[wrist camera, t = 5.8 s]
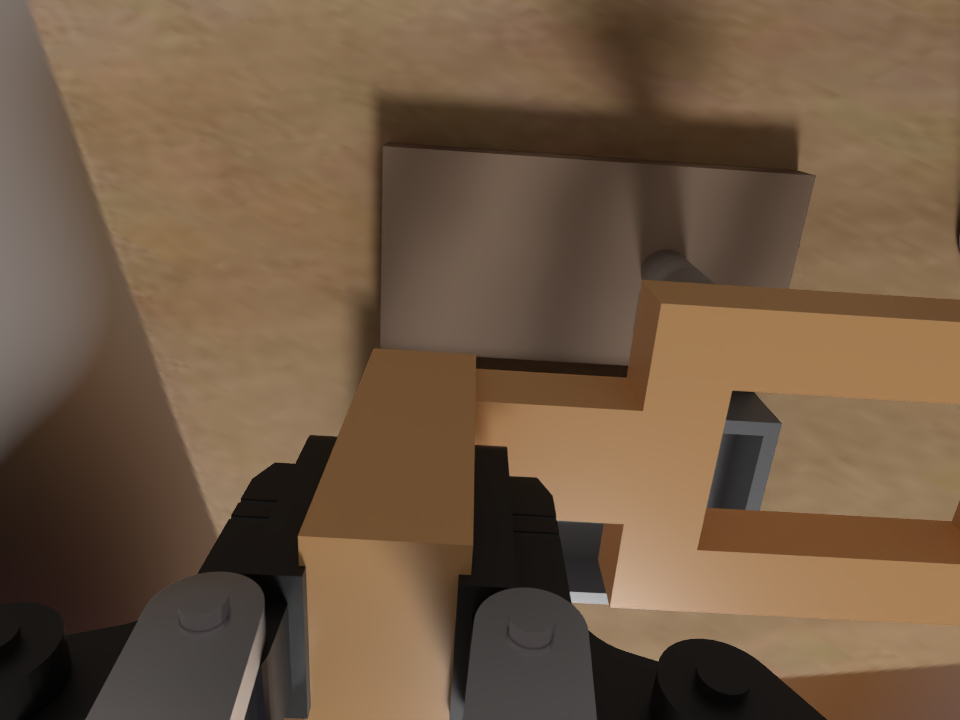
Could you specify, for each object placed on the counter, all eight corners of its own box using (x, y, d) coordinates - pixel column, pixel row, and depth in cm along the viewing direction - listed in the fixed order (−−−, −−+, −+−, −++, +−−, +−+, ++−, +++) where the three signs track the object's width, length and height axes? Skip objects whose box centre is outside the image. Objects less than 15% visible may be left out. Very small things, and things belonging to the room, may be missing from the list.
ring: (1111, 309, 13) (1576, 476, 8) (995, 581, 16) (1285, 860, 10) (374, 262, 13) (292, 402, 7) (371, 547, 15) (309, 816, 10)
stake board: (798, 170, 27) (929, 207, 19) (754, 360, 30) (852, 458, 22) (387, 142, 26) (350, 168, 19) (384, 338, 29) (351, 430, 22)
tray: (753, 392, 30) (781, 423, 28) (712, 567, 34) (733, 610, 31) (377, 370, 30) (366, 399, 27) (375, 549, 34) (366, 592, 31)
